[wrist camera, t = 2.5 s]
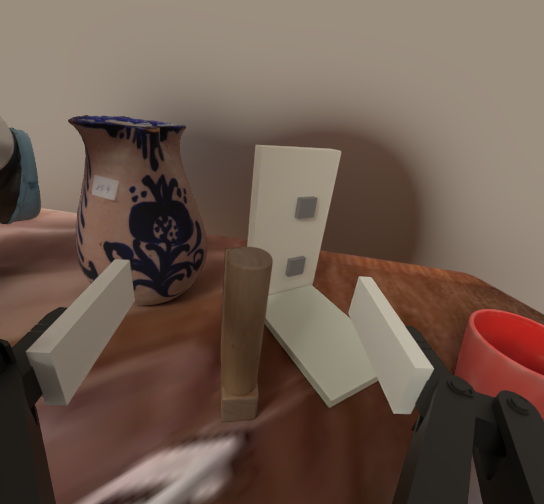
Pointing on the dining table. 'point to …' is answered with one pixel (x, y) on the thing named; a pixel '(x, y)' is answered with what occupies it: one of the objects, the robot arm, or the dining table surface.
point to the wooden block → (243, 329)
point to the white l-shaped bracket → (304, 268)
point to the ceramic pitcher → (138, 206)
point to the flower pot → (503, 355)
